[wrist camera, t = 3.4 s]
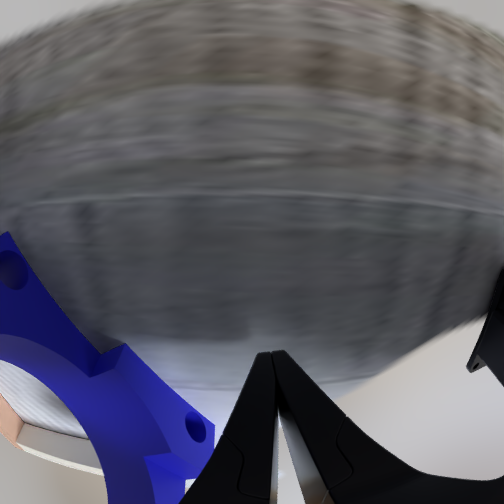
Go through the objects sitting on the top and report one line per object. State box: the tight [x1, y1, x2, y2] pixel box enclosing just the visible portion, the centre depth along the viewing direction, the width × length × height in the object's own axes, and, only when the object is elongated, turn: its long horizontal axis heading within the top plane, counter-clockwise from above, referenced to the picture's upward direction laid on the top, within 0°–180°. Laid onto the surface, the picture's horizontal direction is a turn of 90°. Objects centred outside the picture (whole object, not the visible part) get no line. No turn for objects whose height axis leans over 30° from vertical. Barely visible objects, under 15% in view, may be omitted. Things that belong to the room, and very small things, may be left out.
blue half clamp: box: [0, 231, 215, 504], centre depth 7 cm, size 12×4×6 cm, turn 29°
